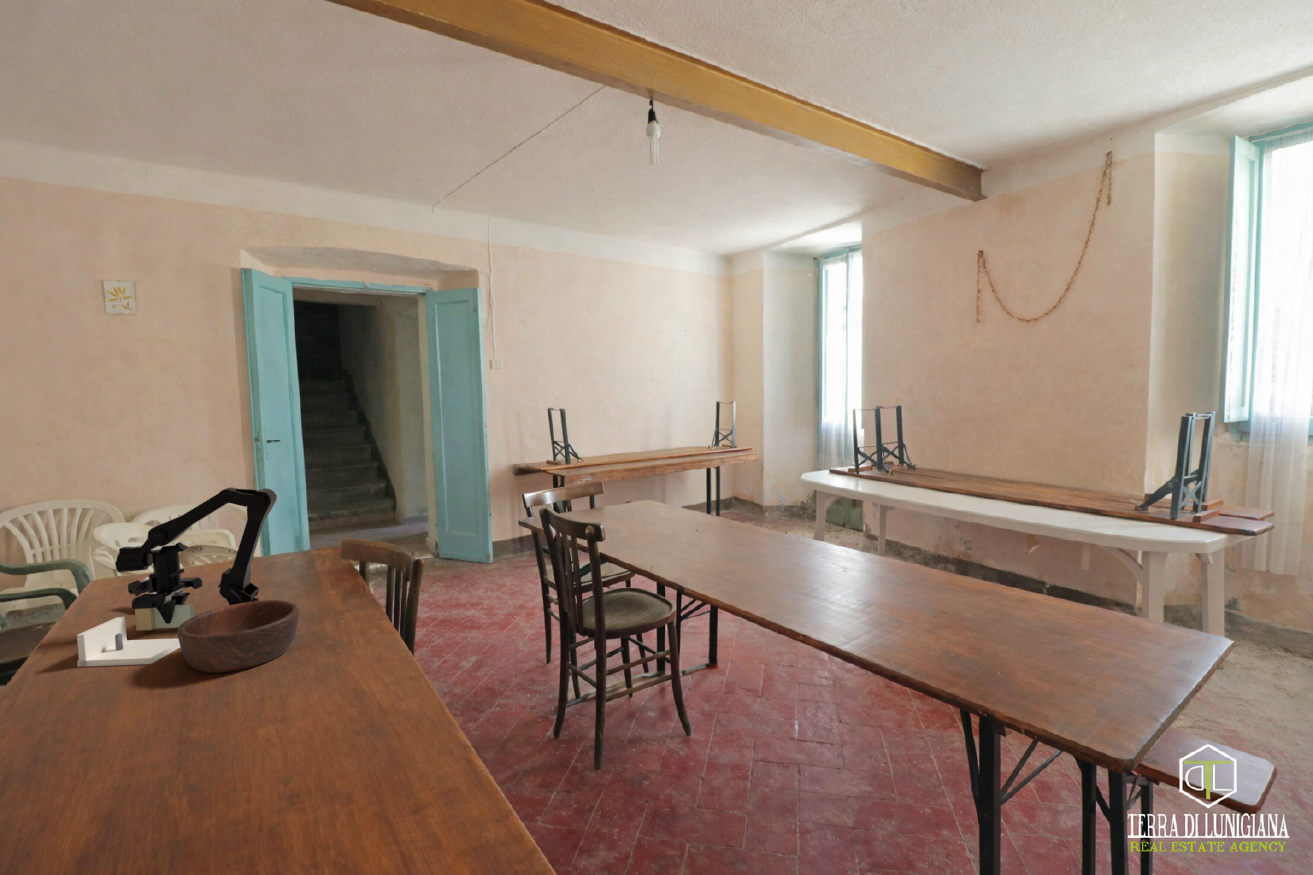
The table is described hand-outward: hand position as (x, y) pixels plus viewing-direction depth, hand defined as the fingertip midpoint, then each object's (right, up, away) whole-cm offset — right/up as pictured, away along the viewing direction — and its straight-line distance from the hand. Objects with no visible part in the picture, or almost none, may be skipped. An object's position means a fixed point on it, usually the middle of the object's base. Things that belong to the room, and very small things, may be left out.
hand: (170, 622), depth 166 cm
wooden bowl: (+32, -4, -17) cm, 36 cm away
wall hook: (-20, -2, +18) cm, 27 cm away
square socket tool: (-1, -1, 0) cm, 2 cm away
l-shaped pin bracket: (+4, -3, -16) cm, 16 cm away
